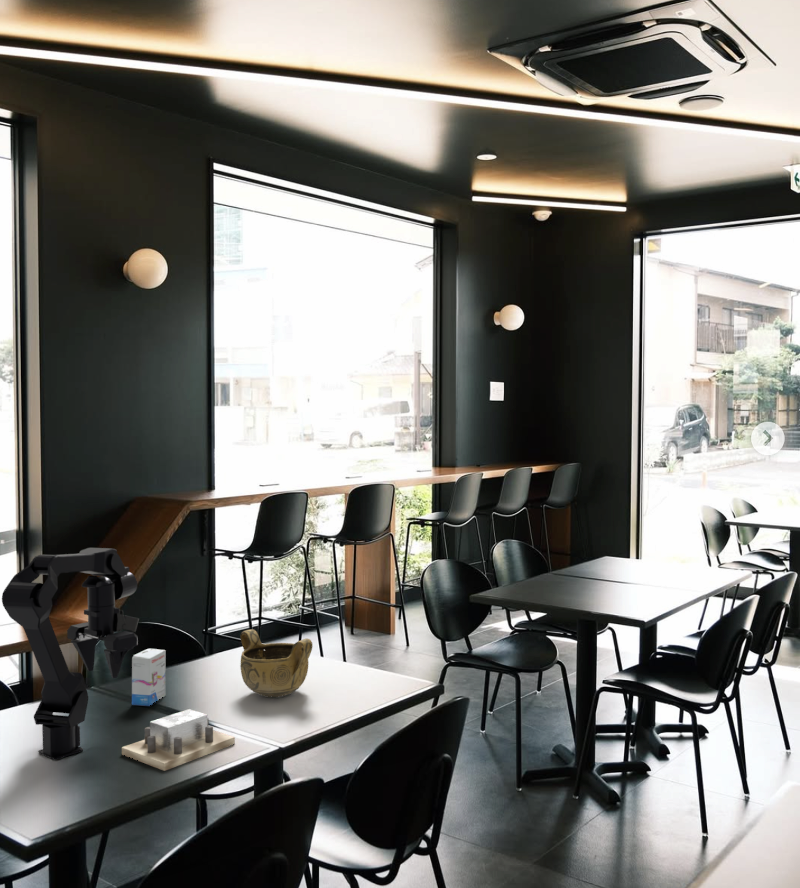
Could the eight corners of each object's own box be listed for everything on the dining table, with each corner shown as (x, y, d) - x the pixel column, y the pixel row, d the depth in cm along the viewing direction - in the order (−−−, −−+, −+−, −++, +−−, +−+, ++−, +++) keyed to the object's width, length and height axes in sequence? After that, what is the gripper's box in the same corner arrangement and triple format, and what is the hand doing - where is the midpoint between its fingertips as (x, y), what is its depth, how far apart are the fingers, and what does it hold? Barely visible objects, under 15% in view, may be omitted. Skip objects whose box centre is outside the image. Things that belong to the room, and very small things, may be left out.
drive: (168, 752, 180) (168, 727, 180) (150, 745, 184) (149, 721, 184) (207, 738, 188) (207, 714, 188) (189, 732, 192) (189, 709, 192)
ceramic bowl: (331, 693, 223) (330, 633, 222) (283, 712, 209) (282, 648, 209) (267, 678, 236) (267, 622, 236) (218, 694, 223) (217, 634, 222)
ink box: (150, 706, 214) (149, 657, 213) (131, 705, 215) (130, 656, 214) (166, 695, 222) (166, 648, 222) (148, 694, 223) (147, 647, 223)
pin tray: (164, 770, 175) (164, 748, 175) (121, 754, 183) (121, 732, 183) (234, 744, 189) (234, 722, 189) (192, 730, 198) (191, 709, 197)
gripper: (157, 603, 199) (158, 673, 200) (108, 593, 211) (109, 659, 211) (114, 612, 190) (115, 685, 191) (65, 601, 202) (66, 670, 202)
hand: (102, 674), depth 199 cm, fingers open, 9 cm apart
